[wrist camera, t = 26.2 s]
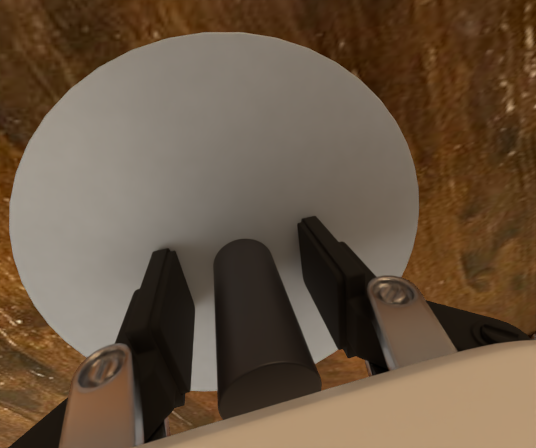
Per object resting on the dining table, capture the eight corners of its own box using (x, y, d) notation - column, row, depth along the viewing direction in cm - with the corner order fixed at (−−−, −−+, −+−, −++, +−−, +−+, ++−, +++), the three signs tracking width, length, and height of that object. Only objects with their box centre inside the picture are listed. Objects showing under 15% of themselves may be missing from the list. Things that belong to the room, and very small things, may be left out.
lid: (-60, 16, 7) (-1249, -322, 1) (447, 54, 10) (773, 1, 4) (89, 394, 14) (2, 613, 8) (368, 349, 17) (453, 486, 11)
